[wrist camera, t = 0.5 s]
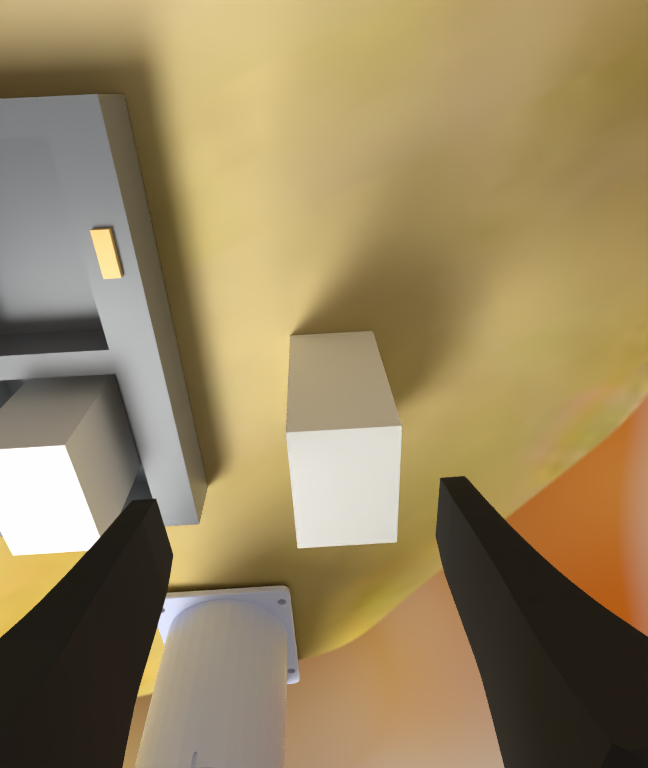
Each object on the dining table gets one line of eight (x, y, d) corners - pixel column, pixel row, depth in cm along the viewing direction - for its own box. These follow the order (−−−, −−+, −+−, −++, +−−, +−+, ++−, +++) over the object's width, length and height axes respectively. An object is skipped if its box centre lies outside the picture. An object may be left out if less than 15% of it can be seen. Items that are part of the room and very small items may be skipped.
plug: (372, 427, 23) (396, 542, 17) (298, 431, 23) (297, 548, 17) (372, 330, 21) (402, 425, 15) (289, 335, 21) (286, 432, 15)
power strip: (207, 486, 25) (186, 579, 20) (27, 498, 25) (-39, 593, 20) (124, 94, 16) (51, 93, 11) (-154, 108, 16) (-344, 112, 11)
